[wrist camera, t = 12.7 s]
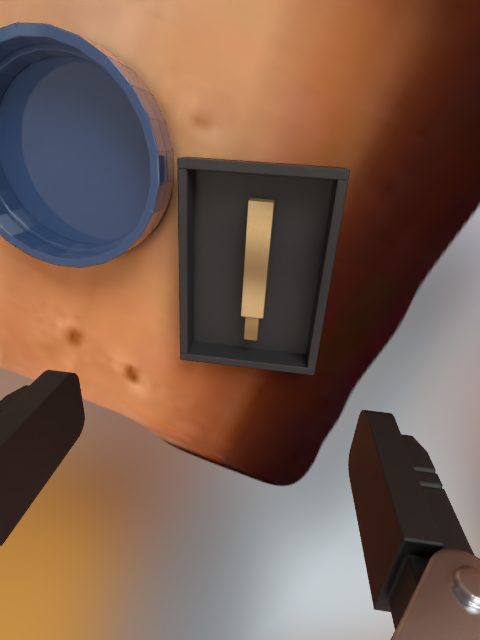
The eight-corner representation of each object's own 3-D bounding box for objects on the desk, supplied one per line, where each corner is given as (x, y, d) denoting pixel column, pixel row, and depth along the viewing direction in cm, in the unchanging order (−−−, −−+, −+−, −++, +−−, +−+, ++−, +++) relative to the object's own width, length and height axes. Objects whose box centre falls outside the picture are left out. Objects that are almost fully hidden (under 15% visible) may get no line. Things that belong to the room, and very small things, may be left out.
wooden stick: (250, 197, 24) (248, 200, 23) (274, 199, 24) (273, 202, 23) (241, 331, 28) (239, 340, 27) (262, 333, 28) (260, 343, 27)
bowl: (-33, 36, 23) (-85, 18, 20) (173, 45, 22) (154, 27, 18) (12, 246, 28) (-23, 258, 25) (177, 261, 27) (162, 276, 24)
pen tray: (187, 156, 24) (177, 157, 22) (344, 167, 23) (350, 169, 21) (188, 344, 30) (180, 360, 28) (312, 358, 29) (314, 375, 27)
